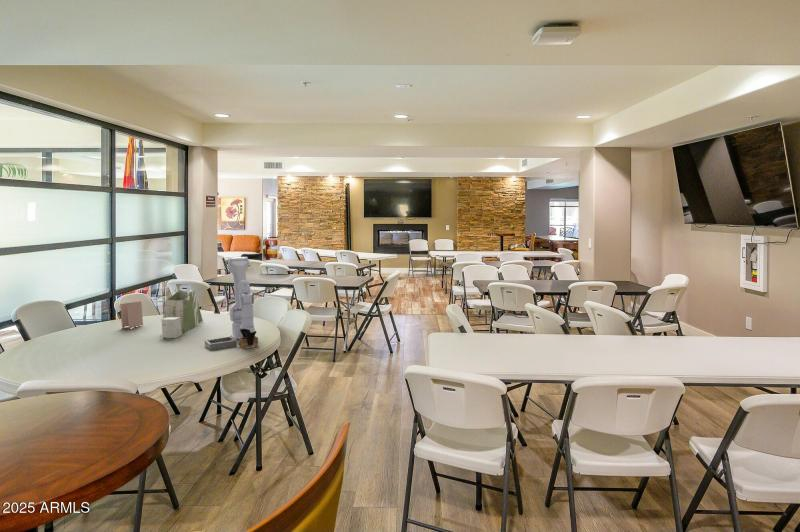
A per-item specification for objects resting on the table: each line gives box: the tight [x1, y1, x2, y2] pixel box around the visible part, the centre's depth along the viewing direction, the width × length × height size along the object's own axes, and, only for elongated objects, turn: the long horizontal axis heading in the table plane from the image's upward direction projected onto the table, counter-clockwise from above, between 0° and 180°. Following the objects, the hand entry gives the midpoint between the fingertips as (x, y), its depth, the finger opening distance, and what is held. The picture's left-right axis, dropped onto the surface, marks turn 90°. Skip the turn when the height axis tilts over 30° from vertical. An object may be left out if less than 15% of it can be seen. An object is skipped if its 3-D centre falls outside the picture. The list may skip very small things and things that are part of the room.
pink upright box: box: [120, 300, 144, 329], centre depth 292 cm, size 11×7×15 cm, turn 133°
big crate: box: [204, 335, 238, 351], centre depth 248 cm, size 10×13×3 cm
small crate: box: [238, 335, 259, 349], centre depth 246 cm, size 5×8×4 cm, turn 125°
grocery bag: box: [162, 288, 204, 334], centre depth 292 cm, size 32×14×23 cm, turn 6°
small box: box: [160, 317, 183, 339], centre depth 268 cm, size 8×6×10 cm
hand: (248, 343), depth 246 cm, fingers closed on small crate, 5 cm apart
